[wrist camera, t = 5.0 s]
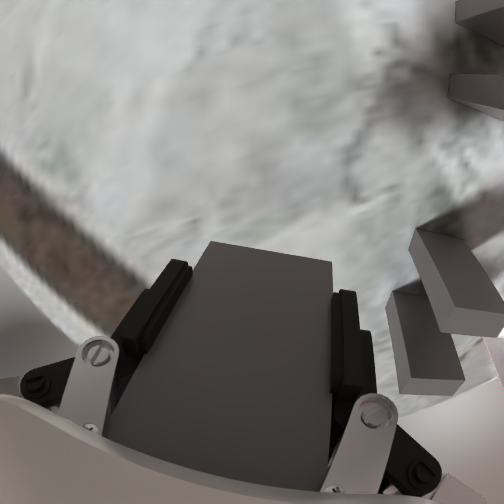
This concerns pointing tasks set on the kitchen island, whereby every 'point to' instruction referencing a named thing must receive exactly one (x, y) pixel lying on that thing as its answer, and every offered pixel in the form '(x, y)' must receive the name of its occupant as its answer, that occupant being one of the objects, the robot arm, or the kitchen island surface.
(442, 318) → the domino
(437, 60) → the kitchen island surface
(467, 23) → the domino
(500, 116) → the domino
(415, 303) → the domino
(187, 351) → the domino
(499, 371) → the puzzle cube
